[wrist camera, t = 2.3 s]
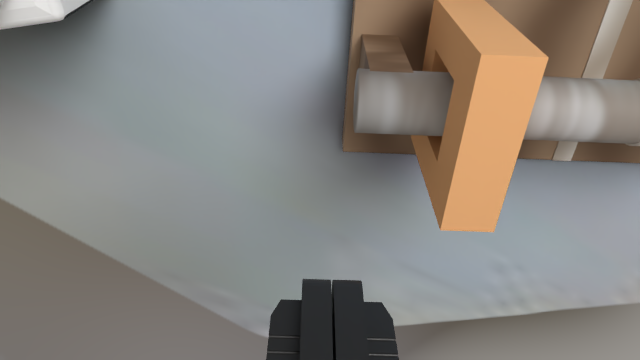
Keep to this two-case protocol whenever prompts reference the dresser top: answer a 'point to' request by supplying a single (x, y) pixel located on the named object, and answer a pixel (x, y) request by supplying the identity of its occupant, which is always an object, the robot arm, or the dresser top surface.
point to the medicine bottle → (36, 11)
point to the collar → (477, 111)
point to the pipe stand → (553, 95)
